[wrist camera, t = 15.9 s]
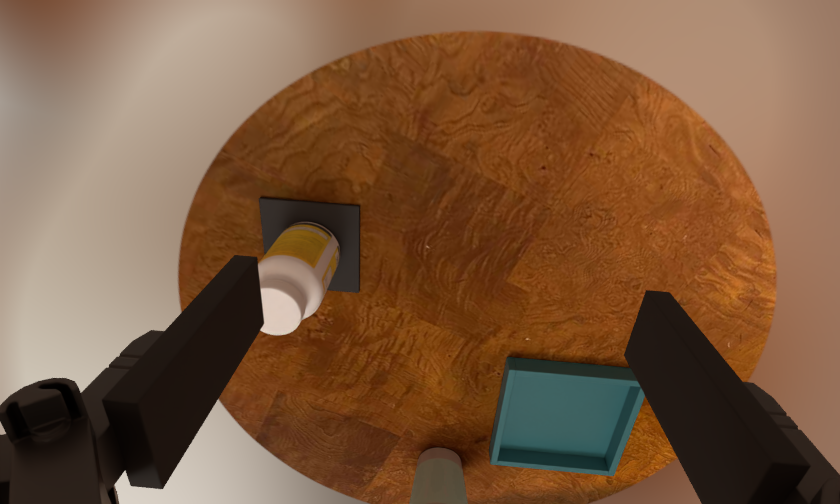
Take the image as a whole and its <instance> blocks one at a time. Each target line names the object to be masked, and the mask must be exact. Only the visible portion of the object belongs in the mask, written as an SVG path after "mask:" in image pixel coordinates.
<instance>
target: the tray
mask: <svg viewBox="0 0 840 504" xmlns="http://www.w3.org/2000/svg"><path fill="white" fill-rule="evenodd" d="M644 397H645V394H644V393H643V391H642V389H641V387H640V385H639V383H638V381H637V379H636V377H635V375H634V373H633V372H632V370H631V368H626V367H615V366H604V365H592V364H581V363H570V362H559V361H547V360H536V359H525V358H514V357H507V360H506V365H505V370H504V375H503V380H502V385H501V390H500V396H499V401H498V406H497V411H496V416H495V421H494V426H493V432H492V437H491V442H490V447H489V456H490V464H492V465H496V464H497V465H503V466H513V467H524V468H534V469H545V470H556V471H566V472H577V473H587V474H598V475H608V476H614V474H615V471H616V469H617V466H618V464H619V461H620V459H621V456H622V453H623V451H624V448H625V446H626V443H627V441H628V438H629V436H630V433H631V430H632V428H633V425H634V423H635V420H636V418H637V415H638V413H639V410H640V407H641V405H642V402H643V400H644Z"/></svg>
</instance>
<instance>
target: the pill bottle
mask: <svg viewBox="0 0 840 504" xmlns="http://www.w3.org/2000/svg"><path fill="white" fill-rule="evenodd" d="M339 260H340V247H339V244H338V242H337V240H336V238H335V237H334V235H333V234H332V233H331V232H330V231H329V230H328V229H326V228H325V227H323V226H321V225H319V224H316V223H312V222H299V223H295V224H293V225H291V226H289V227H288V228H286V229H285V230H284V231H283V232H282V234H281V235H280V236H279V237H278V239H277V240H276V241H275V243H274V244H273V245H272V247H271V248H270V249H269V250H268V252H267V253H266V254H265V256H264V257H263V258H262V259H261V261H260V262H259V263H258V270H259V279H260V288H261V297H262V306H263V315H264V325H263V326H262V328H261V330H260V331H262V332H265V333H268V334H271V335H284V334H288V333H290V332H292V331H294V330H295V329H296V328H297V327H298V325H299V324H300V322H301V320H302V319H305V318H307V317H309V316H310V315H312V314H313V313H314V312H315V311H316V310H317V309H318V307H319V306H320V304H321V302H322V300H323V297H324V295H325V293H326V291H327V288H328V286H329V284H330V281H331V279H332V277H333V275H334V272H335V270H336V268H337V266H338V263H339Z"/></svg>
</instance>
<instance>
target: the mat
mask: <svg viewBox="0 0 840 504" xmlns="http://www.w3.org/2000/svg"><path fill="white" fill-rule="evenodd" d="M259 204H260V214H261V224H262V233H263V243H264V253H265V254H266V253H267V252H268V250H269V249H270V248H271V247H272V245H273V244H274V243H275V241H276V240H277V239H278V237H279V236H280V235H281V234H282V232H283V231H284V230H285V229H286V228H288V227H289V226H291V225H293V224H295V223H299V222H312V223H316V224H319V225H321V226H323V227H325V228H326V229H328V230H329V231H330V232H331V233H332V234H333V235H334V237H335V238H336V240H337V242H338V244H339V247H340V260H339V263H338V266H337V268H336V270H335V272H334V275H333V277H332V279H331V281H330V284H329V286H328V288H327V290H332V291H344V292H355V293H359V271H360V206H359V205H347V204H335V203H323V202H311V201H299V200H287V199H274V198H262V197H260V198H259Z"/></svg>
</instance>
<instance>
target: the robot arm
mask: <svg viewBox="0 0 840 504" xmlns="http://www.w3.org/2000/svg"><path fill="white" fill-rule="evenodd" d="M263 325H264V315H263V306H262V297H261V288H260V279H259V270H258V261H257V257H251V256H239V255H234V257H233V258H232V259H231V260H230V261H229V262H228V263H227V264H226V265H225V266H224V267H223V268H222V270H221V271H220V272H219V273H218V274H217V275H216V276H215V277H214V278H213V279H212V280H211V282H210V283H209V284H208V285H207V286H206V287H205V288H204V289H203V290H202V291H201V292H200V293H199V295H198V296H197V297H196V298H195V299H194V300H193V301H192V302H191V303H190V304H189V305H188V306H187V308H186V309H185V310H184V311H183V312H182V313H181V314H180V315H179V316H178V317H177V318H176V320H175V321H174V322H173V323H172V324H171V325H170V326H169V327H168V328H167V329H166V330H165V331H154V330H151V331H149V332H147V333H146V334H144V335H142V336H141V337H139V338H137V339H135V340H134V341H132V342H131V343H130V344H129V345H128V346H127V347H126V348H125V349H124V350H123V351H122V352H121V353H120V356H119V357H116V358H115V359H114V361H112V362H111V364H109V368H106V369H105V370H104V371H102V372H101V374H99V376H98V377H97V378H96V379H95V380H94V381H93V382H92V383H91V384H90V385H89V386H88V387H87V388H86V389H85V390H84V391H83V392H82V393H80V391H79V388H78V386H77V384H76V383H75V381H72V380H69V379H66V378H51V379H47V380H42V381H38V382H36V383H33V384H31V385H28V386H25V387H23V388H22V389H20V390H18V391H17V392H15V393H13V394H12V395H10V396H9V397H8V398H7V399H6V400H5V401H4V402H3V403H2V404H1V405H0V422H1V424H2V426H3V428H4V429H5V432H6V434H4V435H0V504H119V501H118V495H117V491H116V489H115V486H114V484H115V483H116V482H117V480H118V479H119V478H120V476H121V475H122V473H123V472H124V471H125V470H126V473H127V476H128V479H129V482H130V485H131V486H137V487H146V488H156V489H157V488H158V489H163V488H164V486H165V484H166V483H167V481H168V480H169V478H170V476H171V475H172V473H173V471H174V470H175V468H176V467H177V465H178V463H179V462H180V460H181V458H182V457H183V455H184V453H185V452H186V450H187V449H188V447H189V445H190V444H191V442H192V440H193V439H194V437H195V436H196V434H197V432H198V431H199V429H200V427H201V426H202V424H203V423H204V421H205V419H206V418H207V416H208V414H209V413H210V411H211V410H212V408H213V406H214V405H215V403H216V401H217V400H218V398H219V397H220V395H221V393H222V392H223V390H224V388H225V387H226V385H227V383H228V382H229V380H230V379H231V377H232V375H233V374H234V372H235V370H236V369H237V367H238V366H239V364H240V362H241V361H242V359H243V357H244V356H245V354H246V353H247V351H248V349H249V348H250V346H251V344H252V343H253V341H254V340H255V338H256V336H257V335H258V333H259V331H260V330H261V328H262V326H263ZM624 356H625V358H626V360H627V362H628V364H629V366H630V368H631V370H632V372H633V373H634V375H635V377H636V379H637V381H638V383H639V385H640V387H641V389H642V391H643V393H644V394H645V396H646V398H647V400H648V402H649V404H650V406H651V408H652V410H653V412H654V413H655V415H656V417H657V419H658V421H659V423H660V425H661V427H662V429H663V431H664V432H665V434H666V436H667V438H668V440H669V442H670V444H671V446H672V448H673V450H674V452H675V453H676V455H677V457H678V459H679V461H680V463H681V465H682V467H683V468H684V471H685V472H686V474H687V476H688V478H689V480H690V482H691V484H692V485H693V488H694V489H695V492H696V493H697V495H698V497H699V499H700V501H701V503H702V504H840V475H839V474H838V472H837V471H836V470H835V469H834V468H833V467H832V466H831V464H830V463H829V462H828V461H827V460H826V459H825V457H824V456H823V455H822V454H821V453H820V452H819V450H818V449H817V448H816V447H815V446H814V445H813V443H812V442H811V441H810V440H809V439H808V438H807V436H806V435H805V434H804V433H803V432H802V431H801V430H798V426H797V425H796V424H795V423H794V421H793V420H792V419H791V418H790V417H789V416H786V412H785V411H784V410H783V409H782V408H781V406H780V405H779V404H778V403H777V402H776V401H775V399H774V398H773V397H772V396H770V395H769V394H767V393H766V392H765V391H763V390H762V389H761V388H759V387H758V386H757V385H755V384H754V383H749V382H742V381H741V379H740V378H739V377H738V376H737V375H736V373H735V372H734V371H733V370H732V368H731V367H730V366H729V365H728V364H727V362H726V361H725V360H724V359H723V357H722V356H721V355H720V354H719V352H718V351H717V350H716V349H715V348H714V346H713V345H712V344H711V343H710V341H709V340H708V339H707V338H706V337H705V335H704V334H703V333H702V332H701V330H700V329H699V328H698V327H697V326H696V324H695V323H694V322H693V321H692V319H691V318H690V317H689V316H688V314H687V313H686V312H685V311H684V310H683V308H682V307H681V306H680V305H679V303H678V302H677V301H676V300H675V299H674V297H673V296H672V295H671V294H670V292H660V291H648V290H646V292H645V295H644V298H643V301H642V304H641V307H640V310H639V313H638V316H637V319H636V322H635V325H634V327H633V330H632V333H631V336H630V339H629V342H628V345H627V348H626V351H625V354H624Z"/></svg>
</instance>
